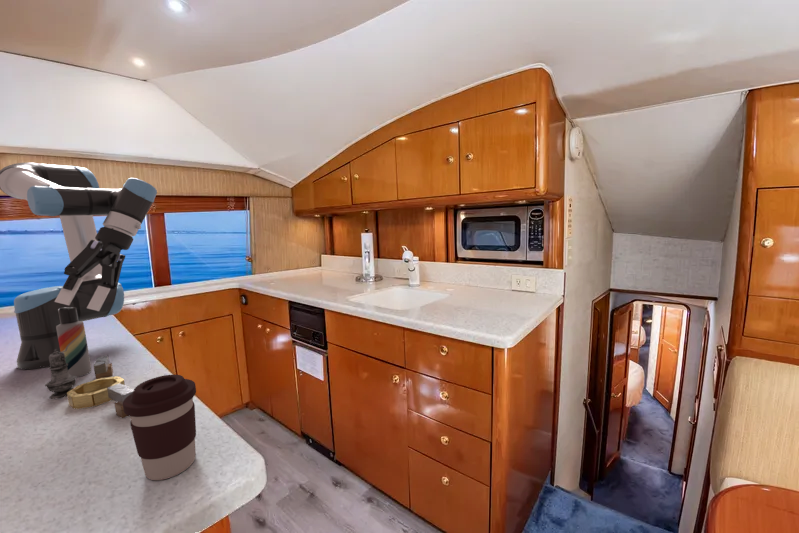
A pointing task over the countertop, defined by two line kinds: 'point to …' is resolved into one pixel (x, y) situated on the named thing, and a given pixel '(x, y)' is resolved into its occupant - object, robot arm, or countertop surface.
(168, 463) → the coffee cup
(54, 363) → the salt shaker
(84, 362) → the lotion bottle
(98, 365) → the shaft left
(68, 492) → the countertop surface
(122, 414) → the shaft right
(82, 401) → the brass collar
